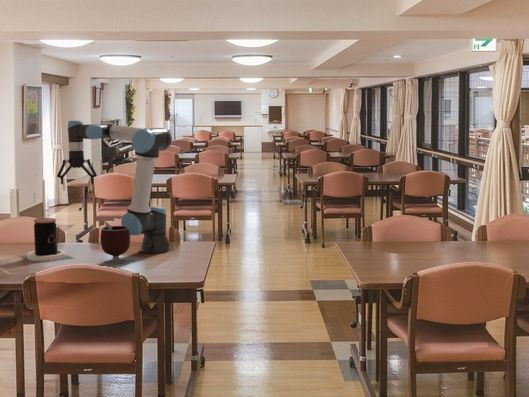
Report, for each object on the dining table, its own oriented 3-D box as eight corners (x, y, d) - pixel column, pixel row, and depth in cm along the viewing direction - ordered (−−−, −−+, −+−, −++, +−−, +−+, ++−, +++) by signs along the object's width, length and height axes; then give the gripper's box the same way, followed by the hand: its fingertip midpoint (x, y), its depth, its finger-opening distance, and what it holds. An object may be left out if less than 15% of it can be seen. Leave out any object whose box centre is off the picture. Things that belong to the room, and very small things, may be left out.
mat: (74, 259, 361) (74, 258, 361) (34, 264, 349) (34, 263, 349) (57, 252, 379) (57, 251, 379) (19, 257, 367) (19, 256, 367)
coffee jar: (51, 258, 358) (49, 221, 355) (31, 257, 360) (29, 221, 358) (61, 253, 368) (60, 218, 366) (41, 253, 370) (40, 217, 368)
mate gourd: (136, 262, 353) (135, 221, 350) (113, 267, 342) (112, 225, 340) (116, 258, 363) (115, 218, 360) (93, 263, 352) (91, 222, 350)
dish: (71, 257, 362) (71, 253, 362) (35, 262, 351) (34, 258, 351) (57, 252, 376) (57, 247, 376) (22, 256, 366) (22, 252, 365)
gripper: (101, 149, 390) (102, 189, 392) (52, 149, 387) (54, 190, 389) (99, 150, 382) (101, 190, 385) (50, 150, 379) (52, 191, 382)
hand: (77, 190), depth 387 cm, fingers open, 13 cm apart
